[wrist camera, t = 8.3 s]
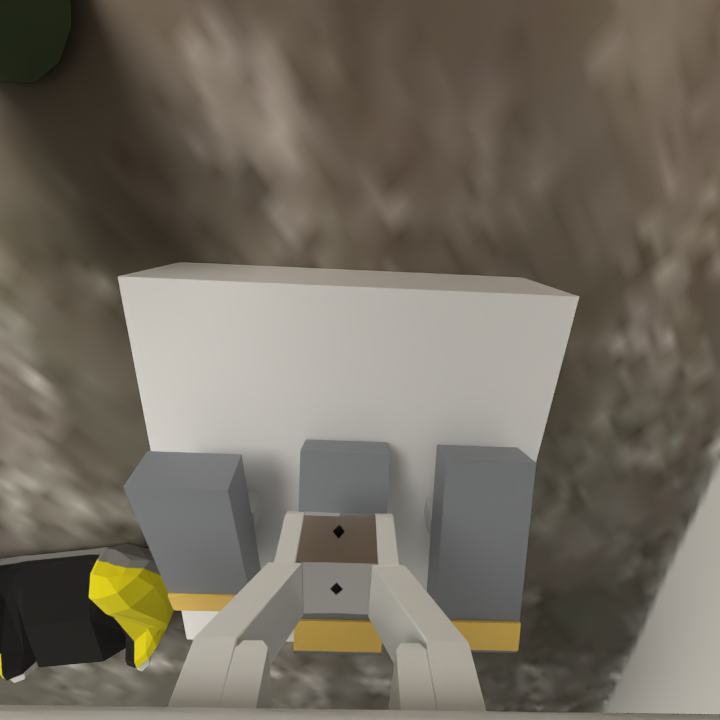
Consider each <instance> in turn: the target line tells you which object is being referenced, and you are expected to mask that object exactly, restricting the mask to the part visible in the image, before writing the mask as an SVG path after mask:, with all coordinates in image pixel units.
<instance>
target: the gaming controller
mask: <svg viewBox="0 0 720 720" xmlns="http://www.w3.org/2000/svg"><path fill="white" fill-rule="evenodd" d="M173 612H174V610H173V608H172V605H171V603H170V601H169V598H168V591H167V589H166V586H165V584H164V582H163V579H162V577H161V574H160V572H159V570H158V567H157V565H156V563H155V560H154V558H153V556H152V553H151V551H150V549H148V548H143V547H139V546H135V545H130V544H121V545H118V546H114V547H103V548H97V549H88V550H78V551H69V552H59V553H49V554H40V555H28V556H17V557H11V558H4V559H0V675H1V676H2V677H3V678H4V679H5V680H9V679H10V680H11V681H13V682H14V683H15V682H18V681H20V680H23V679H25V678H26V677H27V675H28V674H29V672H30V671H31V669H32V668H33V666H34V665H35V664H36V662H37V663H38V666H39V667H46V666H57V665H68V664H79V663H90V662H101V661H105V660H107V659H108V658H110V657H111V656H113V655H115V654H116V653H118V652H120V651H121V650H123V649H124V648H126V658H125V660H126V663H127V665H129V666H131V667H134V668H136V669H138V670H140V671H143V670H144V669H145V668H146V667H147V666H148V665H149V664H150V660H151V657H152V653H153V651H154V650H155V648H156V647H157V645H158V643H159V642H160V640H161V638H162V636H163V634H164V632H165V630H166V628H167V626H168V624H169V621H170V619H171V617H172V614H173Z"/></svg>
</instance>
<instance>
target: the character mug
mask: <svg viewBox="0 0 720 720" xmlns="http://www.w3.org/2000/svg"><path fill="white" fill-rule="evenodd" d="M70 29H71V4H70V0H0V82H35V81H37V80H38V79H39V78H40V77H42V76H43V75H44V74H45V73H47V72H48V71H49V70H50V69H52V68H53V67H54V66H55V65H57V64H58V63H59V62H60V59H61V56H62V53H63V50H64V47H65V44H66V41H67V38H68V35H69V32H70Z"/></svg>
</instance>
